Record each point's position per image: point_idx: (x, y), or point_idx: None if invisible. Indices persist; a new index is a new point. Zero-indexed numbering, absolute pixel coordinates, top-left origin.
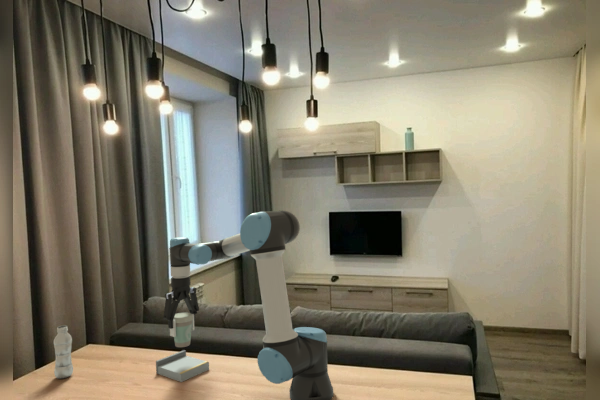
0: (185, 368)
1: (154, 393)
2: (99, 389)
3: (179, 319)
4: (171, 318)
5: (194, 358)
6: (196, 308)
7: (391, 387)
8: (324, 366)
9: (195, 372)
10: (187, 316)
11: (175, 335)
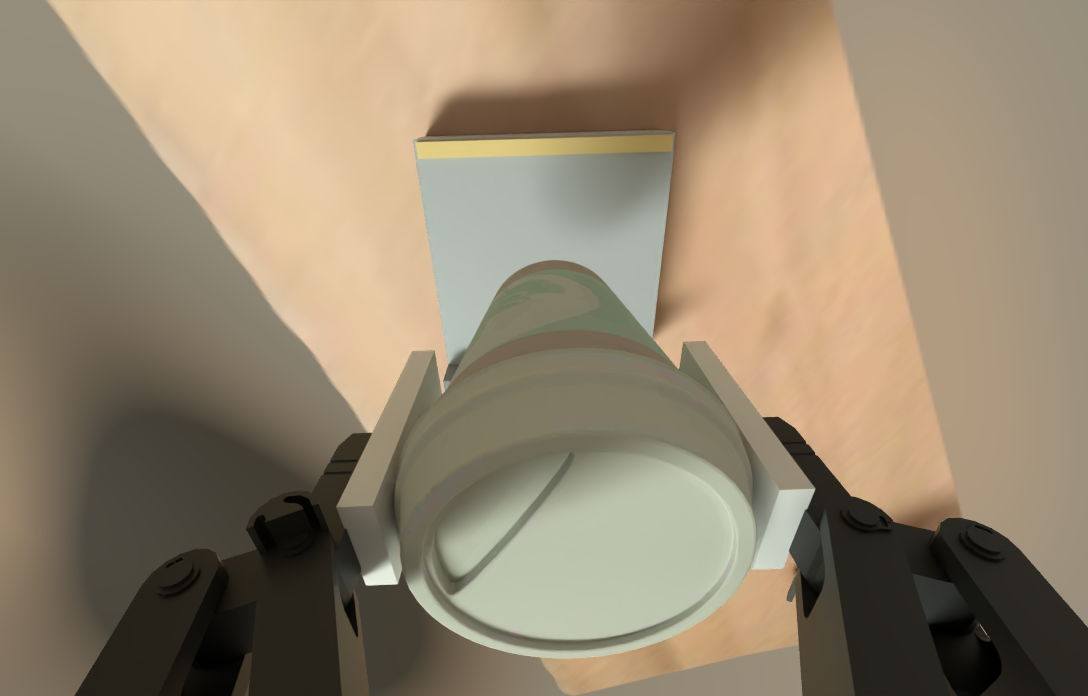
0: (589, 192)
1: (849, 134)
2: (875, 401)
3: (733, 456)
4: (892, 529)
5: (443, 284)
6: (199, 611)
7: None
8: None
9: (544, 134)
10: (592, 434)
11: (693, 348)
